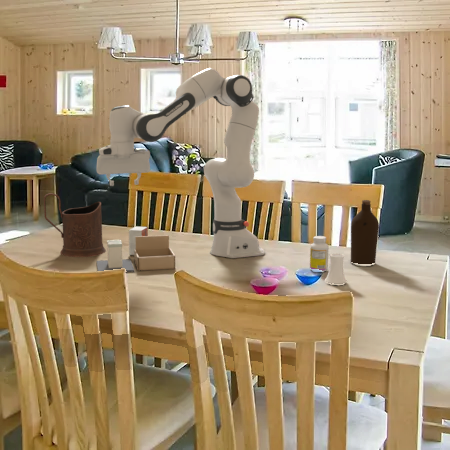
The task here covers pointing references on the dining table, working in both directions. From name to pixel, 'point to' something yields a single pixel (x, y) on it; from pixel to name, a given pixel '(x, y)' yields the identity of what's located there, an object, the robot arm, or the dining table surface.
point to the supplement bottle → (319, 254)
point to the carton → (153, 253)
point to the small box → (136, 233)
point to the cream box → (114, 253)
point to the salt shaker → (336, 270)
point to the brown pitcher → (80, 230)
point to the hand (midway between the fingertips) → (124, 185)
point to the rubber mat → (126, 264)
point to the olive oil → (364, 235)
